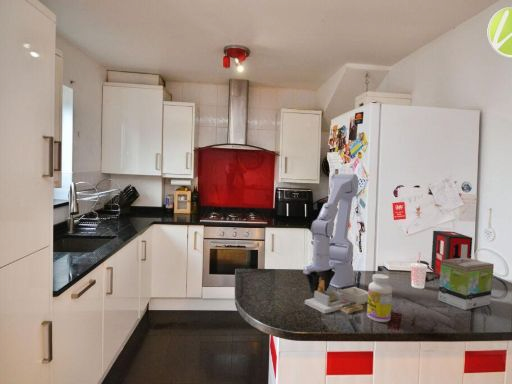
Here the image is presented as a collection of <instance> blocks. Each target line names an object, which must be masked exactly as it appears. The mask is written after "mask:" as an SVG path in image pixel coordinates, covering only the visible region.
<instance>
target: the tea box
mask: <svg viewBox="0 0 512 384" xmlns="http://www.w3.org/2000/svg"><path fill="white" fill-rule="evenodd" d="M494 268H495V267H494V263H491V262H487V261H486V262H485V261H481V260H478V259H473V258H471V259H469V258H458V259H448V260H442V261H441V272H440V278H439V282H438V283H439V284H438V285H439V286H438V295H437V299H438V301H440V302H443V303H444V304H448V305H449V306H452V307H453V306H454V307H455V308H457V309H458V308H459V309H461V310H464V311H466V310H471V309H473V308H478V307H484V306H488V305H490V304H491V300H492V290H493V280H494V279H493V278H494Z"/></svg>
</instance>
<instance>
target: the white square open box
mask: <svg viewBox="0 0 512 384" xmlns="http://www.w3.org/2000/svg"><path fill="white" fill-rule="evenodd" d="M341 293H342V299H343V300H346V301H348V302H350V303H352V302H356V304H359V306H361V305H364V304H368V291H367V290H365V289H361V288H359V287H356V286H352V287H348V288H347V287H346V288H344V289H341Z"/></svg>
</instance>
